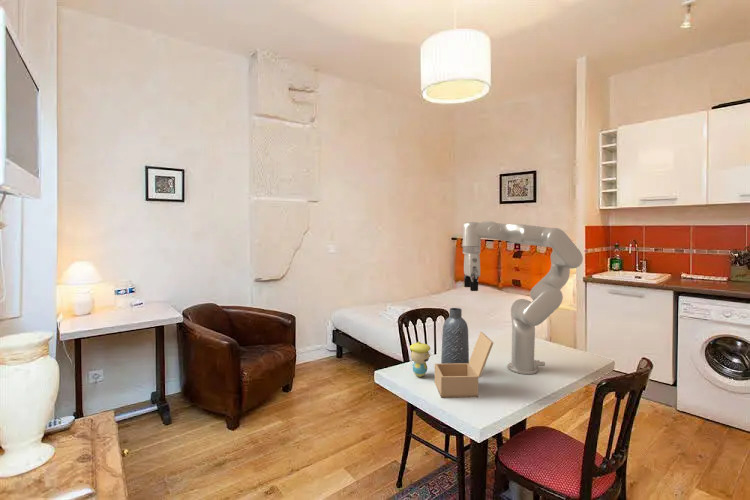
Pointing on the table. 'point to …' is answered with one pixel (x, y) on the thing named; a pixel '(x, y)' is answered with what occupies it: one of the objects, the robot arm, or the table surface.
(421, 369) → the toy
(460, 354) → the vase
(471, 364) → the lid
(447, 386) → the box
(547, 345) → the table surface
